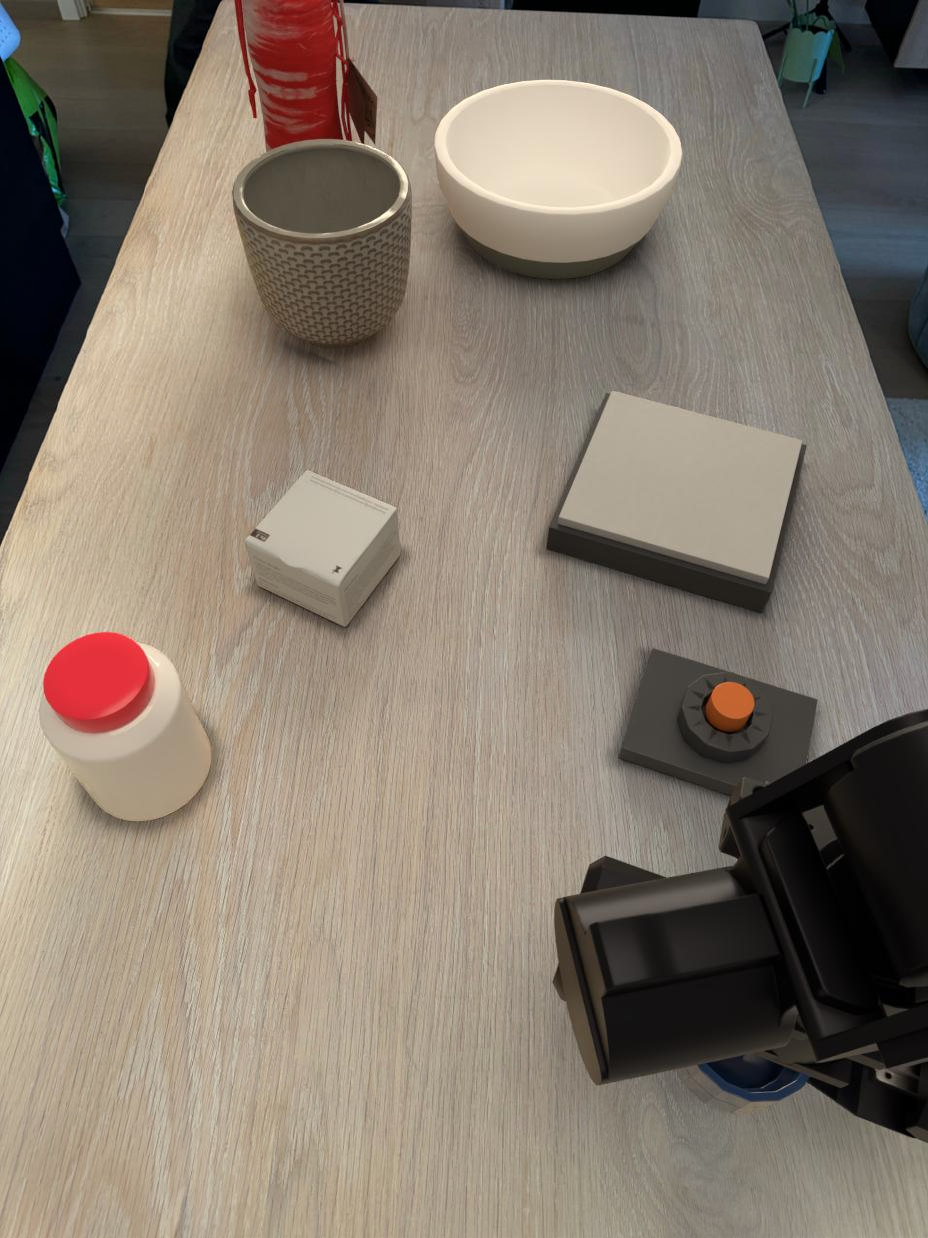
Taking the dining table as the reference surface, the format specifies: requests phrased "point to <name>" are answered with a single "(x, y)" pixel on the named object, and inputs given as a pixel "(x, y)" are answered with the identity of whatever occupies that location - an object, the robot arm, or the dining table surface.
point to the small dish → (741, 1083)
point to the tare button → (729, 706)
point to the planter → (326, 237)
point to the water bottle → (302, 71)
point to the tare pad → (697, 751)
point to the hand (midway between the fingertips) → (734, 1038)
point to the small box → (325, 547)
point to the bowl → (555, 174)
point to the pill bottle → (124, 726)
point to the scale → (680, 499)
